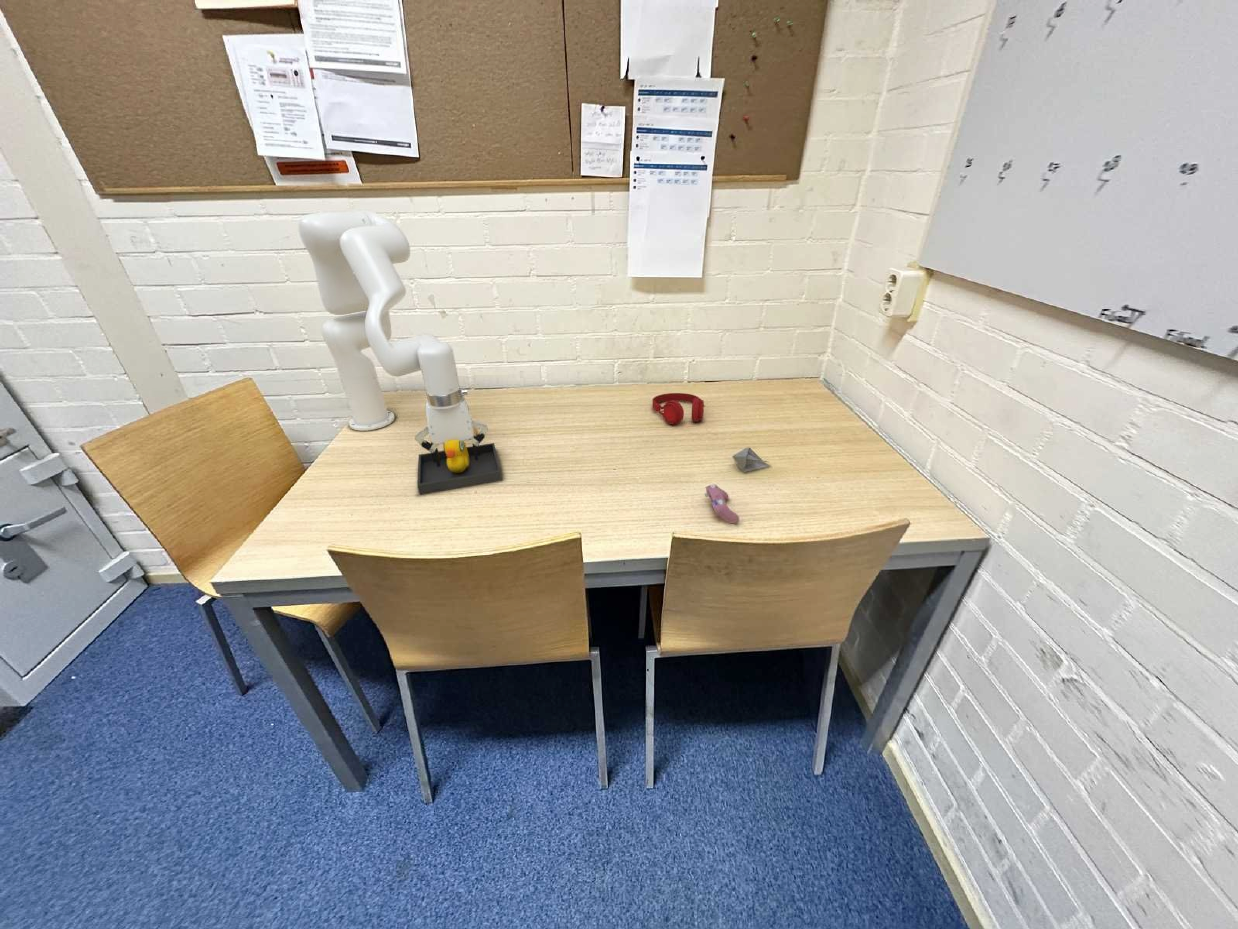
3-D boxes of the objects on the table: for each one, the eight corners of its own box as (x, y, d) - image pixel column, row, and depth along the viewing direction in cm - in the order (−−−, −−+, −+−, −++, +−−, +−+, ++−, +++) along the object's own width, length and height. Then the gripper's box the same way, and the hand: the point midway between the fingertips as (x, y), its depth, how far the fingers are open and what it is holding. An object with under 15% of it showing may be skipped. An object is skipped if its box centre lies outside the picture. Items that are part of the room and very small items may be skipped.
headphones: (712, 423, 145) (690, 405, 163) (713, 400, 142) (690, 384, 161) (664, 428, 143) (647, 409, 161) (664, 405, 140) (646, 388, 158)
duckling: (466, 482, 120) (458, 446, 115) (443, 483, 119) (435, 447, 114) (474, 458, 129) (467, 424, 124) (453, 459, 129) (446, 425, 124)
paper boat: (749, 450, 130) (782, 453, 124) (745, 474, 130) (777, 478, 123) (725, 441, 121) (760, 443, 115) (721, 467, 121) (755, 471, 115)
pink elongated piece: (710, 504, 114) (699, 482, 111) (728, 496, 113) (718, 474, 110) (721, 531, 106) (709, 509, 102) (741, 522, 105) (730, 499, 101)
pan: (420, 463, 129) (418, 454, 127) (495, 451, 134) (494, 442, 132) (419, 494, 116) (417, 485, 115) (502, 480, 121) (500, 471, 120)
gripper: (481, 386, 120) (491, 448, 129) (405, 395, 115) (421, 459, 124) (484, 398, 114) (494, 462, 123) (404, 408, 109) (421, 474, 118)
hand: (457, 460), depth 123 cm, fingers open, 8 cm apart
